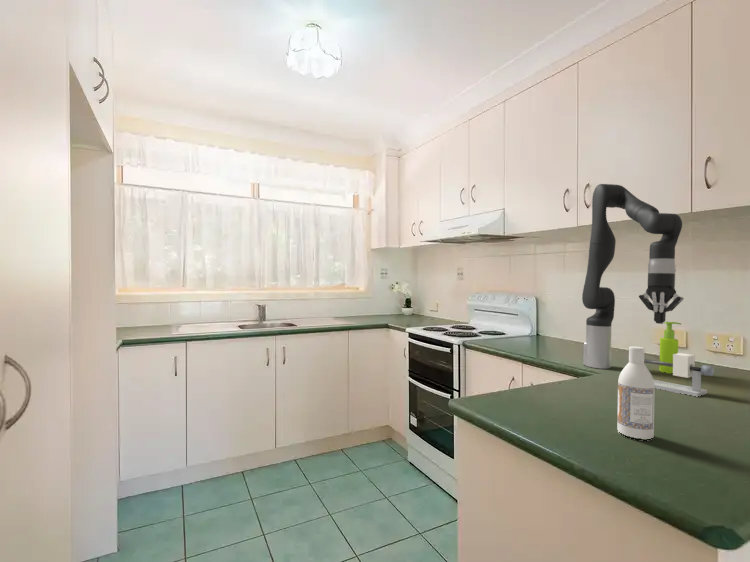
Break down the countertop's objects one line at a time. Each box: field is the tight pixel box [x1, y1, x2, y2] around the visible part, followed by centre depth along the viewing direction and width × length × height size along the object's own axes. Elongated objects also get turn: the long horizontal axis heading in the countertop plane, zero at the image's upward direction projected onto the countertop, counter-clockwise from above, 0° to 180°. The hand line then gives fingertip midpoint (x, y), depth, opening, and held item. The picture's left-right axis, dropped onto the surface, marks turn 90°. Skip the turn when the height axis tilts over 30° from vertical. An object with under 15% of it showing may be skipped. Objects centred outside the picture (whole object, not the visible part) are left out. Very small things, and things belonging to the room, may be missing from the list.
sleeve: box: [672, 352, 696, 379], centre depth 130 cm, size 4×6×7 cm
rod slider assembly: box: [644, 358, 715, 398], centre depth 133 cm, size 22×8×10 cm, turn 33°
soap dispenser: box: [659, 321, 682, 374], centre depth 160 cm, size 6×7×20 cm
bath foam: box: [616, 345, 656, 440], centre depth 91 cm, size 7×7×20 cm
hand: (659, 323), depth 136 cm, fingers closed
